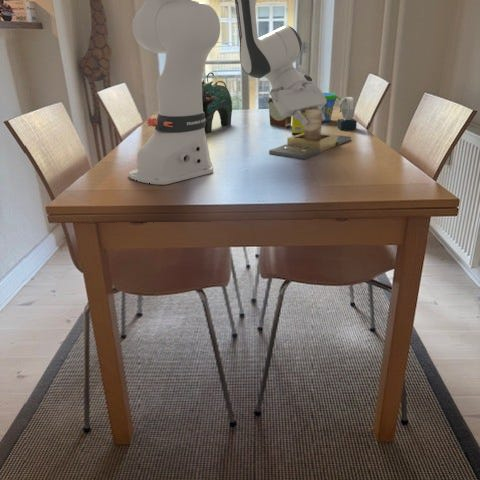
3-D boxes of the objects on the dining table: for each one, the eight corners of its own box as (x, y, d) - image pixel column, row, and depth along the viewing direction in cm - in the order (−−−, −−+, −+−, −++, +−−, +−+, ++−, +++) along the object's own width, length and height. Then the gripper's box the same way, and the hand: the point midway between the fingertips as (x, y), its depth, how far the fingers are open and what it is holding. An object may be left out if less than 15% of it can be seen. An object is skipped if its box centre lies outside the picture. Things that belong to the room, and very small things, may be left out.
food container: (300, 127, 166) (301, 99, 162) (288, 129, 163) (288, 100, 159) (280, 122, 175) (280, 95, 171) (267, 124, 172) (267, 97, 168)
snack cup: (342, 118, 179) (344, 92, 175) (340, 123, 170) (342, 95, 166) (303, 118, 183) (304, 92, 179) (299, 122, 174) (300, 95, 170)
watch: (350, 126, 165) (353, 95, 160) (357, 130, 157) (360, 98, 153) (335, 127, 164) (337, 95, 160) (341, 131, 157) (344, 98, 152)
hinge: (304, 159, 124) (305, 148, 122) (269, 153, 130) (269, 143, 129) (351, 140, 144) (351, 130, 143) (318, 135, 151) (318, 126, 150)
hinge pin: (314, 149, 134) (316, 111, 129) (300, 147, 137) (301, 110, 132) (323, 146, 138) (325, 109, 133) (309, 144, 140) (310, 108, 136)
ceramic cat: (207, 134, 158) (204, 74, 150) (192, 133, 161) (188, 74, 153) (235, 124, 174) (234, 69, 165) (221, 123, 176) (219, 69, 168)
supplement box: (309, 135, 152) (310, 102, 148) (291, 135, 153) (292, 102, 149) (310, 132, 157) (311, 99, 153) (293, 131, 159) (294, 99, 154)
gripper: (273, 82, 127) (300, 120, 125) (315, 76, 140) (340, 111, 138) (261, 97, 131) (287, 134, 129) (303, 90, 145) (326, 124, 143)
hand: (314, 122), depth 134 cm, fingers open, 7 cm apart
